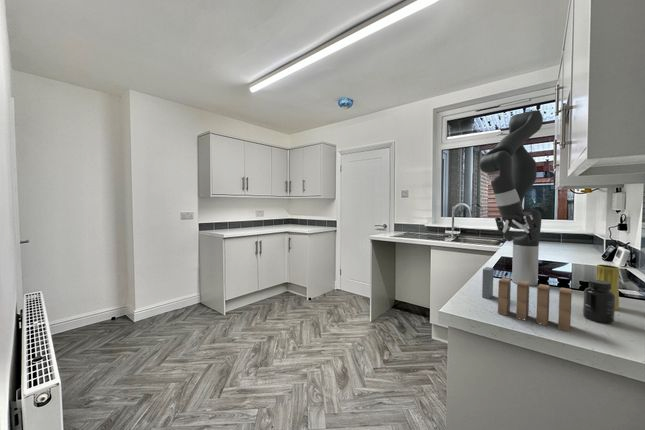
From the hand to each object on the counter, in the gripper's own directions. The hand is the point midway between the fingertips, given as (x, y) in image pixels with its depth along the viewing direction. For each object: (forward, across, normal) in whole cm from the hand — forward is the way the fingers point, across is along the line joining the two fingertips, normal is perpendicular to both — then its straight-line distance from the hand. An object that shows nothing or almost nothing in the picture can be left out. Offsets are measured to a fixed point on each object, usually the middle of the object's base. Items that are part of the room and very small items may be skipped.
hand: (520, 240), depth 106 cm
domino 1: (+15, +4, +20) cm, 26 cm away
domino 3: (+15, -13, +26) cm, 33 cm away
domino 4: (+17, -18, +24) cm, 34 cm away
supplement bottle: (+23, -22, +7) cm, 32 cm away
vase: (+27, -16, -8) cm, 33 cm away
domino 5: (+18, -22, +22) cm, 36 cm away
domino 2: (+14, -9, +28) cm, 33 cm away
